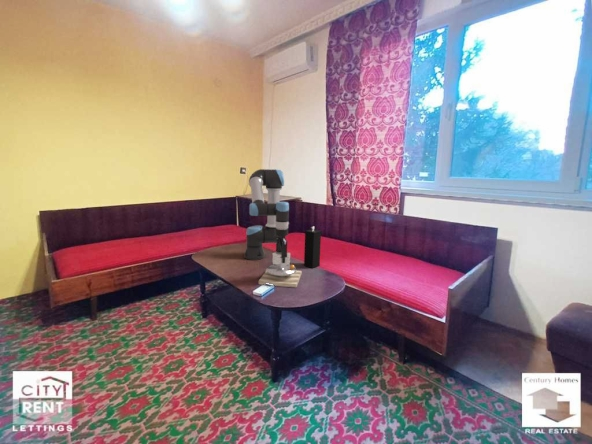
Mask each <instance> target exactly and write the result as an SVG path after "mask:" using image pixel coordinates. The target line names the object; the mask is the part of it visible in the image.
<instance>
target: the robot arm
mask: <svg viewBox="0 0 592 444" xmlns="http://www.w3.org/2000/svg"><path fill="white" fill-rule="evenodd" d="M248 185H249V187H250V190H251V191H250V193H251V202H252V203H250V204H249V215H250V216H252V217H254V216H255V217H260V216H261V217H263V216H264V217H267V222H266V224H265V227H264V226H263V225H260V224H259V225H252V226H249V227H247V228H246V234H245V235H246V248H245V251H244V254H243V255H244V256H243V257H244V259H245V258H246V259H245V260H249V261H257V260H262V259H265V256H266V254H265V250H264V247H263V244H275V252H281V257H280V258H281V268H285V259H286V257H287V253H288V240H287V238H286V236H288V235H289V225H290V222H289V211H290V203H289V202H288V201H280V198H281V197H280V191H281V190H282V189H283V187H284V186H285V177H284V173H283V171H282V170H281V169H275V168H274V169H265V168H264V169H263V168H262V169H261V168H260V169H257V170H255V171H253V173H251V175H250V177H249V179H248ZM264 186H265V189H266V190H267V203H265V199H264V191H263V190H264V189H263V187H264Z"/></svg>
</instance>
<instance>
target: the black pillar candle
mask: <svg viewBox="0 0 592 444" xmlns="http://www.w3.org/2000/svg"><path fill="white" fill-rule="evenodd" d="M321 237H322V231H321V230H318V229H315V226H314V225H313V226H311V229H307V230H304V251H303V252H304V256H303V265H304V266H305V267H307V268H310V269H314V268H317V267H319V266H320V265H321V263H320V262H321V243H322V242H321V241H322V238H321Z"/></svg>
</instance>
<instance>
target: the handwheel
mask: <svg viewBox="0 0 592 444" xmlns="http://www.w3.org/2000/svg"><path fill="white" fill-rule="evenodd" d="M280 257H281V252H276V251H274V252H273V253H272V264H270V265H268V266H267V267H266V269H265V272H266V271H267V273H269V274H271V275H275V276H288V275H292V274H294V273H295V272H296V270H297V268H296V266H295V264H291V252H287V257H286V259H285V268H281V258H280Z"/></svg>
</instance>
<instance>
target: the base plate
mask: <svg viewBox="0 0 592 444" xmlns="http://www.w3.org/2000/svg"><path fill="white" fill-rule="evenodd" d="M301 276H302V270H297V269H296V272H295V273H294V274H292V275H288V276H275V275H271V274H269V273H267V271H266V270H265V272H264V273H263V274H262V276H260V279H259V280H258V285H262V286H263V284H266V283H269V284H273V285H275V287H283V288H284V287H287V288H288V287H289V288H297V287H298V284H299V282H300V279H301Z"/></svg>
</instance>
